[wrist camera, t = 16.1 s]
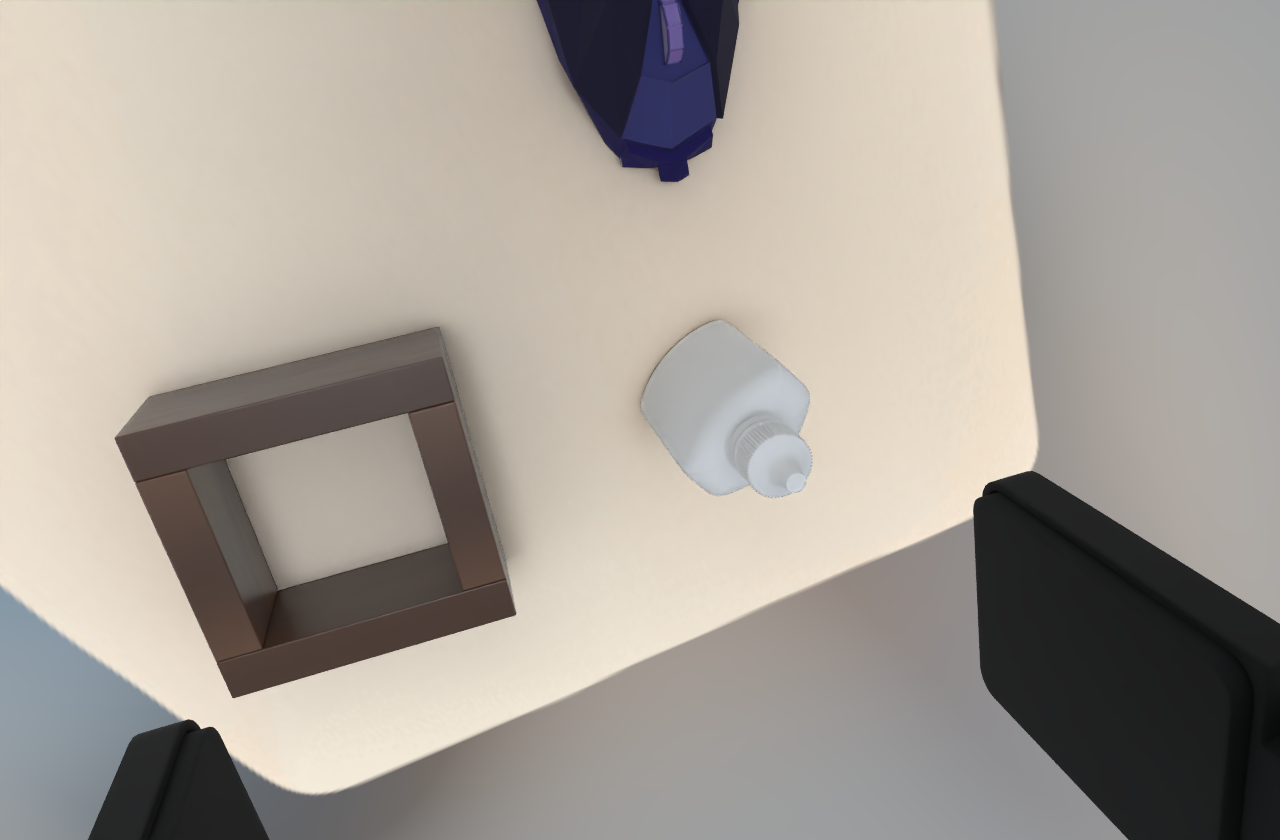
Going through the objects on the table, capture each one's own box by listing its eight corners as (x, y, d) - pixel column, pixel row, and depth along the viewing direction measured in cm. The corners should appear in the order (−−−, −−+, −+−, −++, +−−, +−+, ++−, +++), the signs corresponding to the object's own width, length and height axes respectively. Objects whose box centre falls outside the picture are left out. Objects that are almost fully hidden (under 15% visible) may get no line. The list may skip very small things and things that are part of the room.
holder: (147, 396, 35) (113, 438, 31) (438, 326, 37) (442, 356, 33) (250, 635, 40) (232, 699, 36) (506, 562, 42) (516, 615, 37)
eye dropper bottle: (761, 394, 42) (885, 505, 31) (649, 439, 41) (735, 568, 30) (736, 308, 40) (859, 393, 29) (619, 354, 39) (699, 458, 28)
